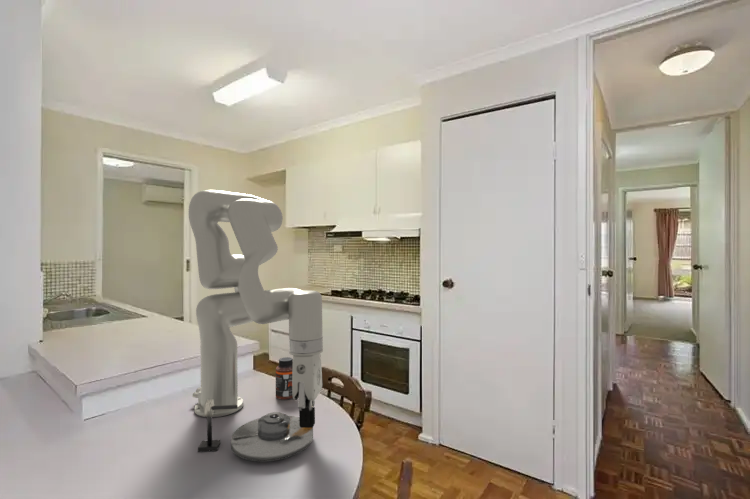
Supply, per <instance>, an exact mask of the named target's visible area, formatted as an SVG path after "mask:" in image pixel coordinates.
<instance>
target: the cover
mask: <svg viewBox="0 0 750 499" xmlns="http://www.w3.org/2000/svg"><path fill="white" fill-rule="evenodd" d="M289 416H290V415H289V414H285V413H283V412H280V411H279V412H278V411H274V412H273V411H272V412H269V413H266V414H265V415H263V416H261V417H259V418H260V419H259V418H258V419H259V420H258V437H259V438H260V439H263V440H267V441H273V440H279V439H282V438H284V437H286V436H287V435H288V434H289V433H290V417H289Z"/></svg>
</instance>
